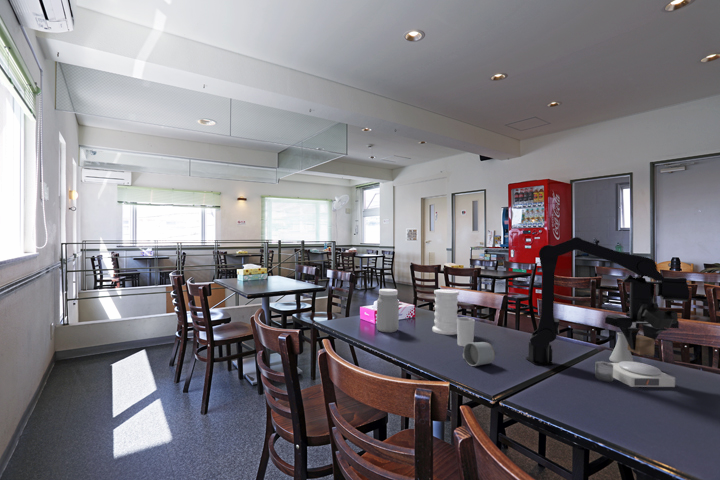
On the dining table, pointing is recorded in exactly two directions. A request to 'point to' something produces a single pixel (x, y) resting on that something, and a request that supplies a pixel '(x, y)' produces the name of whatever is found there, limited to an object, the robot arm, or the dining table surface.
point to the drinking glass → (465, 330)
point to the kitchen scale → (641, 375)
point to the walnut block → (643, 345)
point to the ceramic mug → (478, 353)
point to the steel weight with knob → (604, 371)
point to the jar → (387, 310)
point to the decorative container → (445, 311)
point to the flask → (621, 350)
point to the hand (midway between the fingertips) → (640, 349)
